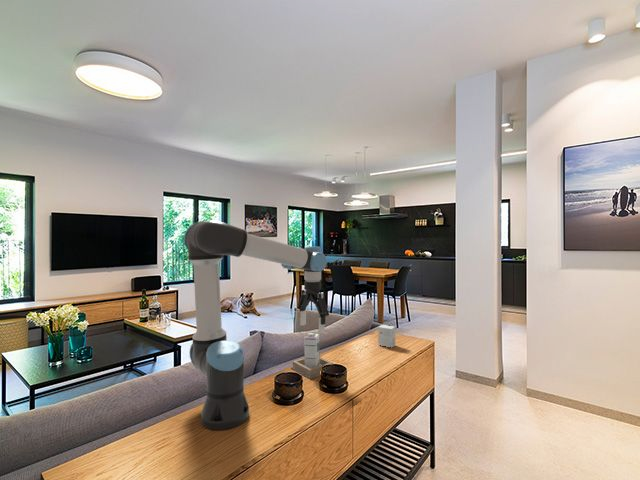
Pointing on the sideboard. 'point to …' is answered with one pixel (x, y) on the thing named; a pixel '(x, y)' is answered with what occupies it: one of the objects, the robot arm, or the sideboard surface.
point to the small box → (386, 336)
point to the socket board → (310, 373)
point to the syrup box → (312, 350)
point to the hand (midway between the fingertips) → (312, 328)
